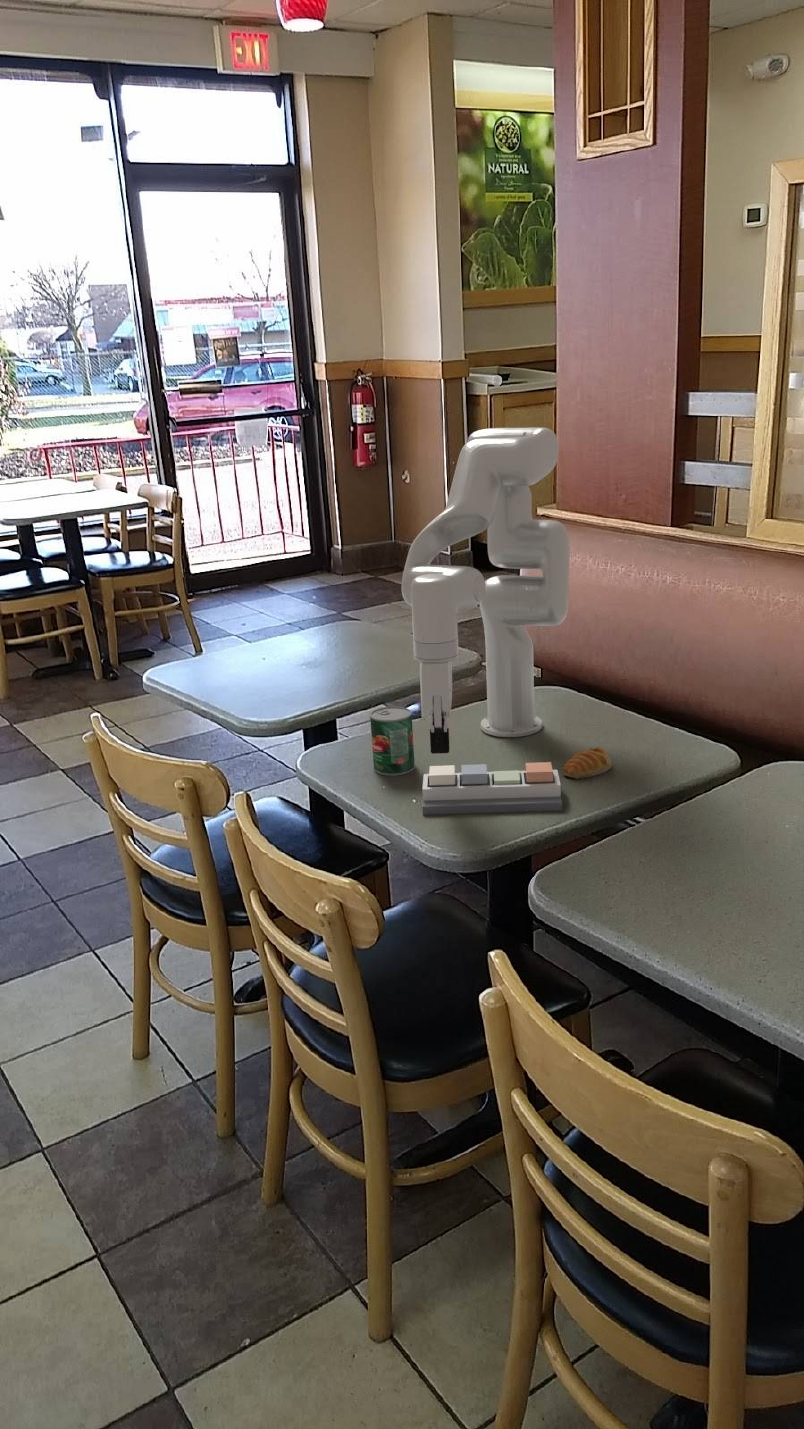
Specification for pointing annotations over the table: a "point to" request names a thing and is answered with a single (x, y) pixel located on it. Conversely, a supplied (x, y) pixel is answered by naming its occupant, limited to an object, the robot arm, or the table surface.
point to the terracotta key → (539, 772)
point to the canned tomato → (392, 740)
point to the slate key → (474, 774)
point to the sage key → (506, 777)
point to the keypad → (491, 796)
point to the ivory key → (442, 775)
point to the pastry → (587, 763)
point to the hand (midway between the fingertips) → (440, 751)
